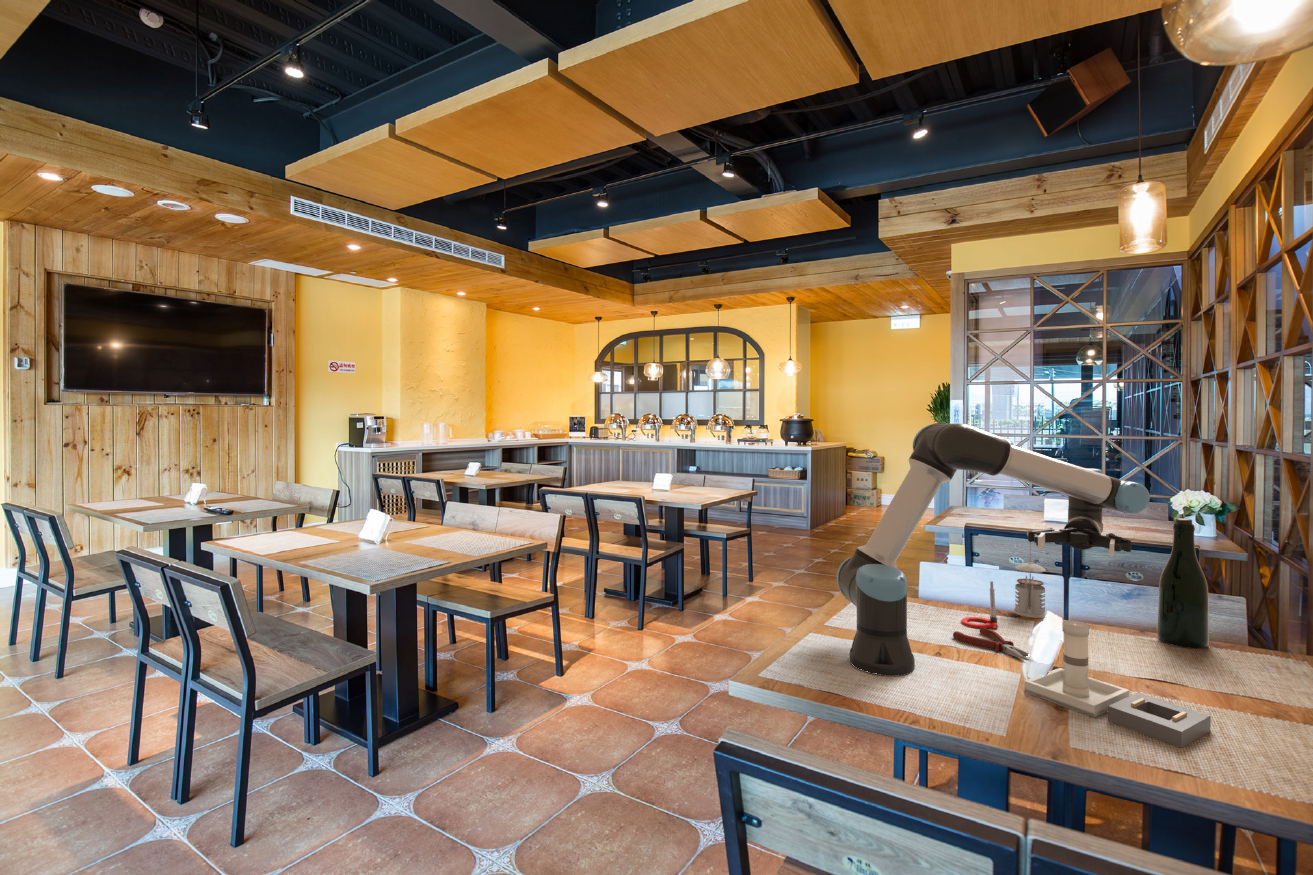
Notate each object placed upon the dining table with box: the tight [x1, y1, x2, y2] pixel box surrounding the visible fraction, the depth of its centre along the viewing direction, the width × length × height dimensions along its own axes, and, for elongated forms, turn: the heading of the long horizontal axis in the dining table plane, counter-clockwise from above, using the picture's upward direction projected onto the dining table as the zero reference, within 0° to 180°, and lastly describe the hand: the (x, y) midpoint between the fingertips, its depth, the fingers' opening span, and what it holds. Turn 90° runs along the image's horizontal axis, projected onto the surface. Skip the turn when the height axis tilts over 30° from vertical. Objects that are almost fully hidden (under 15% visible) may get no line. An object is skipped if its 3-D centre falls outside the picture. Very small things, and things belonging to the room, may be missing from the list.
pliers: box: [952, 628, 1030, 661], centre depth 165 cm, size 12×20×3 cm, turn 18°
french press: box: [1011, 532, 1047, 619], centre depth 193 cm, size 10×12×25 cm
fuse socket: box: [1107, 692, 1212, 749], centre depth 123 cm, size 12×12×4 cm
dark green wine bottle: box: [1157, 517, 1210, 650], centre depth 167 cm, size 10×10×33 cm
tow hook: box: [960, 580, 999, 630], centre depth 184 cm, size 8×13×9 cm
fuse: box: [1061, 620, 1090, 698], centre depth 136 cm, size 5×5×15 cm
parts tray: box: [1023, 667, 1130, 719], centre depth 136 cm, size 14×14×2 cm
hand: (1074, 546), depth 143 cm, fingers open, 13 cm apart
